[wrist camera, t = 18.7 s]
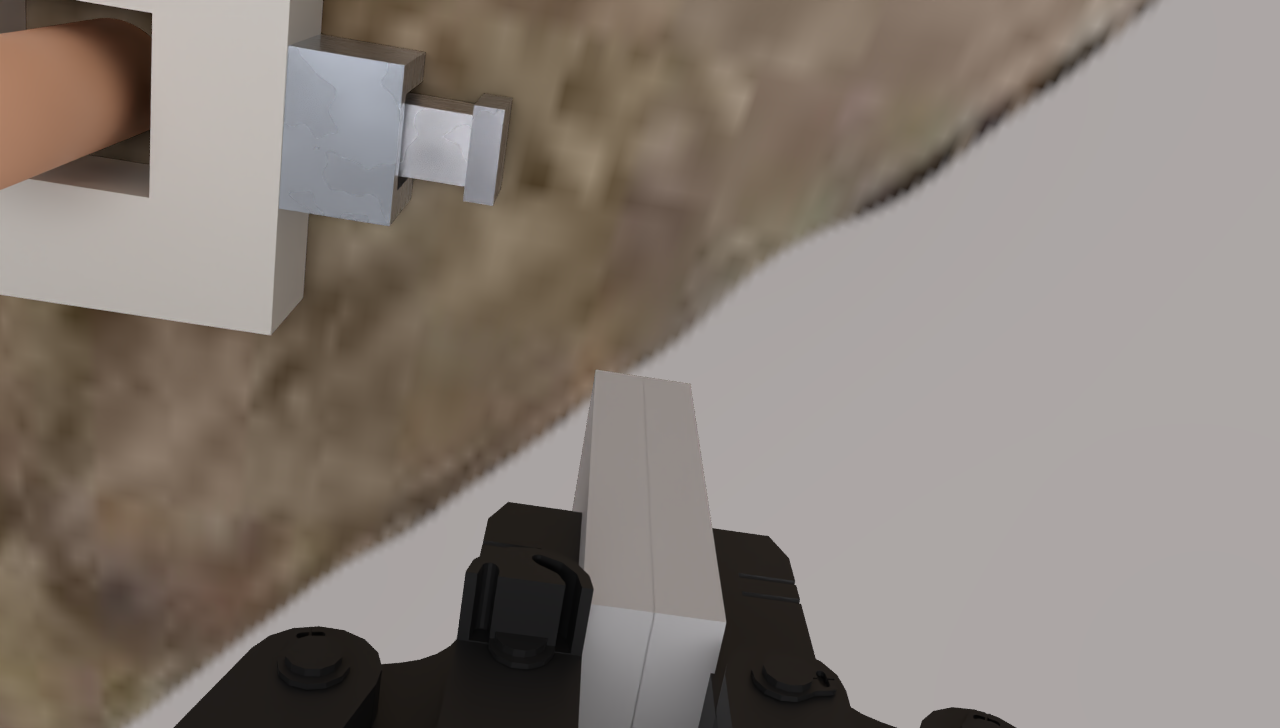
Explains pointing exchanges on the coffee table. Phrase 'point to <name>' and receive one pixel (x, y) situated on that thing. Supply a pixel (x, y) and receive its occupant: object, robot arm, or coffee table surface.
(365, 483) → the coffee table surface
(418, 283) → the coffee table surface
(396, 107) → the pin guide
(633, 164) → the coffee table surface
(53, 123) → the peg
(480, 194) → the lock pin
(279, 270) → the dock
